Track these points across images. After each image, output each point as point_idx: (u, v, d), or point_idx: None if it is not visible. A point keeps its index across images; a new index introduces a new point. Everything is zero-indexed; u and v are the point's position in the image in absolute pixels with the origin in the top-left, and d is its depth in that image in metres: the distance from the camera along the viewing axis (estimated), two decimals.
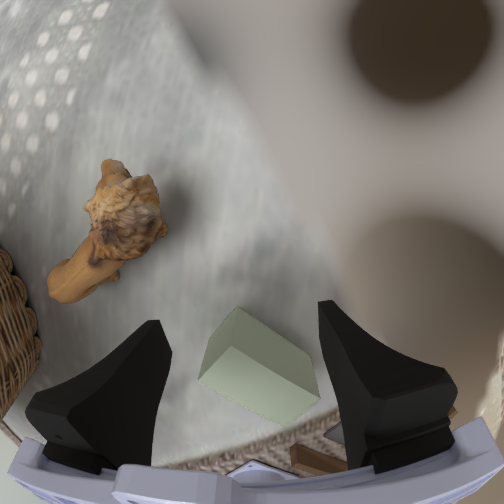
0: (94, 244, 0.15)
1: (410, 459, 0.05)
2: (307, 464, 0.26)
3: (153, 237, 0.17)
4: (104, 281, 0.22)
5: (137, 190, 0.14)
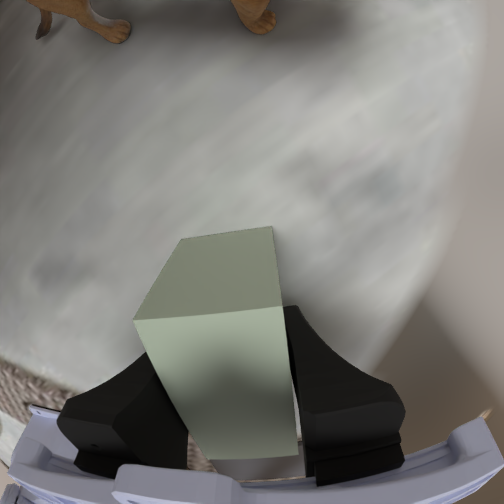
0: None
1: (353, 475, 0.05)
2: None
3: None
4: (98, 26, 0.08)
5: None
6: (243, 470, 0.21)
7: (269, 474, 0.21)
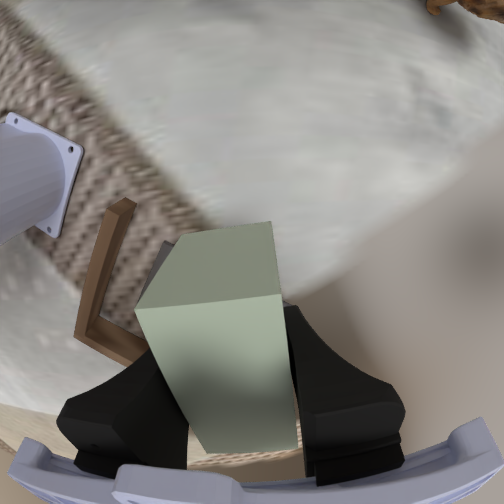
0: None
1: (352, 475, 0.05)
2: (113, 235, 0.18)
3: (483, 9, 0.08)
4: None
5: None
6: None
7: None
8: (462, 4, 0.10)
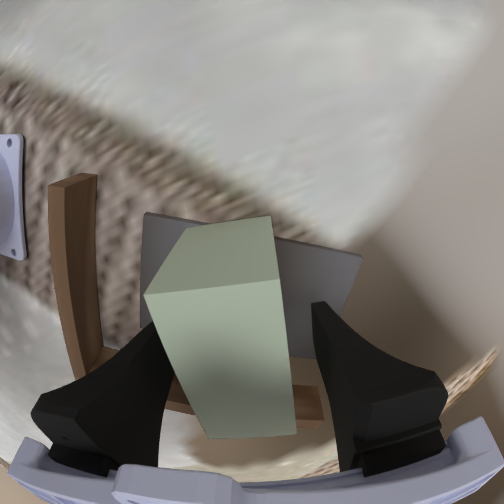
0: None
1: (399, 463, 0.05)
2: (67, 220, 0.11)
3: None
4: None
5: None
6: None
7: None
8: None
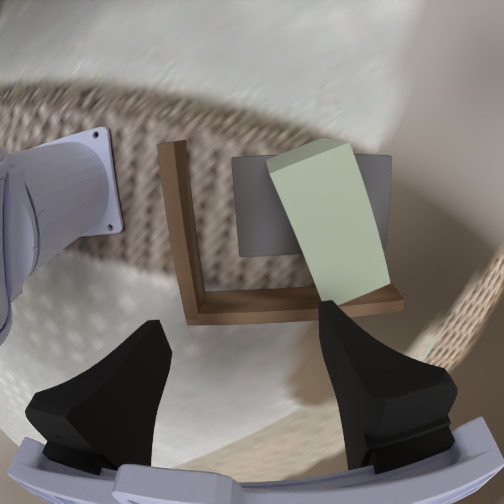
0: None
1: (410, 459, 0.05)
2: (177, 168, 0.17)
3: None
4: None
5: None
6: (273, 219, 0.20)
7: None
8: None
